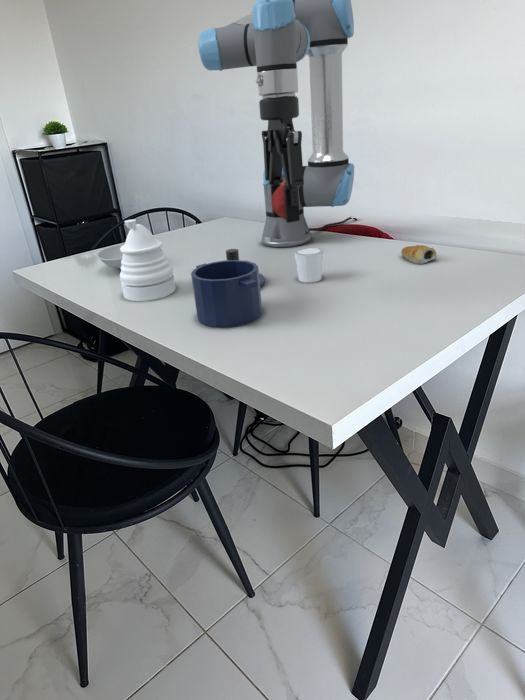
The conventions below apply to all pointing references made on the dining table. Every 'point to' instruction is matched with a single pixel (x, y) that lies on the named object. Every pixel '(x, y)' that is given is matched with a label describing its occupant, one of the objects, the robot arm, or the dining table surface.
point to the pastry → (419, 254)
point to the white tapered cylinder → (309, 264)
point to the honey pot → (144, 266)
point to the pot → (227, 293)
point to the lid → (234, 255)
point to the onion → (279, 201)
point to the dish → (111, 256)
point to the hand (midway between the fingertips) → (285, 218)
